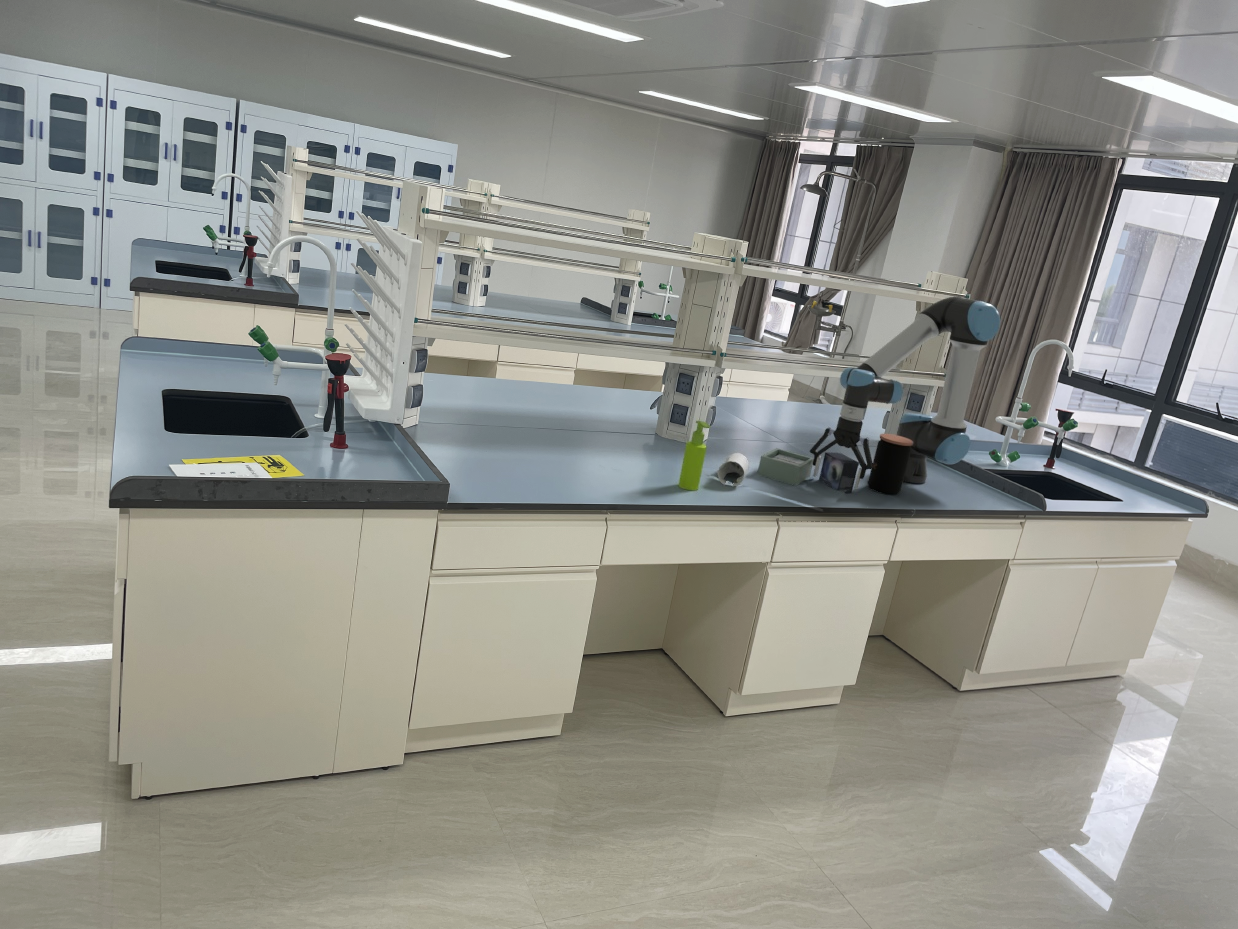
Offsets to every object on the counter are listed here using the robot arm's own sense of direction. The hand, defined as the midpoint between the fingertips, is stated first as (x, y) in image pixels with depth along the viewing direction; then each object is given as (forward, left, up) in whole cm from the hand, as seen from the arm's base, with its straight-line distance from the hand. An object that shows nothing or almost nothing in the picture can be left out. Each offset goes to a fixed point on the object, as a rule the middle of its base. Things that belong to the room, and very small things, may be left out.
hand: (835, 481), depth 282 cm
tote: (+15, +6, -2) cm, 17 cm away
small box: (0, 0, -2) cm, 2 cm away
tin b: (+15, +9, -1) cm, 18 cm away
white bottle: (+27, +25, -2) cm, 37 cm away
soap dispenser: (+32, +46, -2) cm, 56 cm away
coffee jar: (-13, -14, -2) cm, 19 cm away
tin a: (+15, +2, -1) cm, 16 cm away
